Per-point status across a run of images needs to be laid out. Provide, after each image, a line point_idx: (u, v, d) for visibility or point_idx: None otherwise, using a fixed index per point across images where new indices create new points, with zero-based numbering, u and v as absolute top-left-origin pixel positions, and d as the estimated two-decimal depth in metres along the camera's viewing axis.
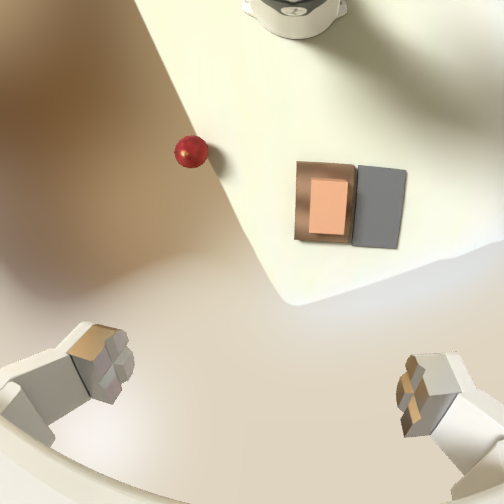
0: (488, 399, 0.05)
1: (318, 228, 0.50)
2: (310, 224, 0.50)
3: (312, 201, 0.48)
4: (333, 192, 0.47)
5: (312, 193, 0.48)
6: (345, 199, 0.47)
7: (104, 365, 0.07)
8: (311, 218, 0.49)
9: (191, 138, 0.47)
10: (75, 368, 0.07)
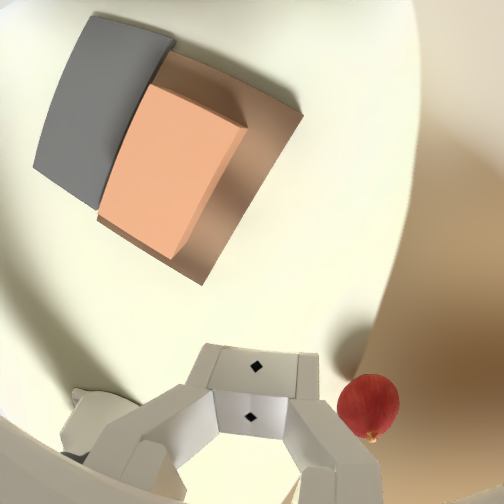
0: (332, 413, 0.05)
1: (208, 127, 0.15)
2: (224, 149, 0.15)
3: (189, 209, 0.17)
4: (133, 207, 0.17)
5: (181, 228, 0.18)
6: (112, 176, 0.17)
7: None
8: (212, 165, 0.16)
9: None
10: (214, 404, 0.06)
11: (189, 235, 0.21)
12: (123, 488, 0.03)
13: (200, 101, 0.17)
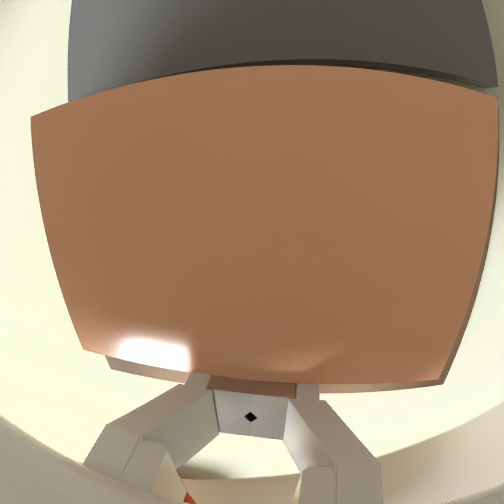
0: (332, 413, 0.05)
1: (430, 327, 0.05)
2: (384, 377, 0.06)
3: (203, 365, 0.06)
4: (99, 219, 0.05)
5: (149, 358, 0.06)
6: (136, 95, 0.04)
7: None
8: (338, 375, 0.06)
9: None
10: (214, 403, 0.06)
11: None
12: (123, 488, 0.03)
13: None
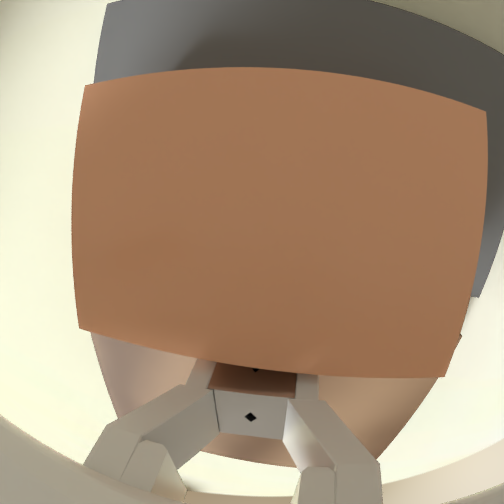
0: (331, 413, 0.05)
1: (437, 315, 0.05)
2: (392, 370, 0.06)
3: (210, 348, 0.06)
4: (134, 183, 0.06)
5: (152, 339, 0.06)
6: (195, 78, 0.05)
7: None
8: (348, 365, 0.06)
9: None
10: (214, 403, 0.06)
11: None
12: (123, 488, 0.03)
13: (368, 406, 0.10)
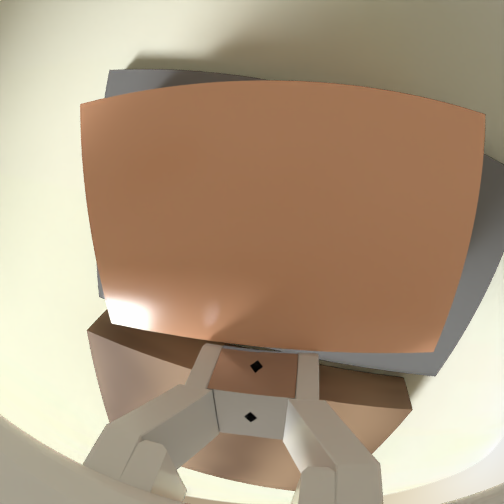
0: (332, 413, 0.05)
1: (426, 302, 0.06)
2: (386, 347, 0.07)
3: (229, 333, 0.07)
4: (146, 199, 0.06)
5: (179, 328, 0.07)
6: (191, 94, 0.05)
7: None
8: (348, 343, 0.07)
9: None
10: (214, 404, 0.06)
11: None
12: (123, 488, 0.03)
13: None
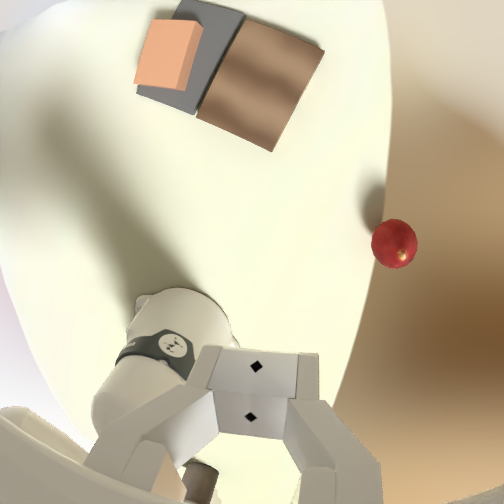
0: (332, 413, 0.05)
1: (182, 25, 0.27)
2: (191, 31, 0.27)
3: (181, 60, 0.29)
4: (152, 71, 0.30)
5: (178, 70, 0.29)
6: (140, 62, 0.29)
7: None
8: (187, 38, 0.27)
9: (383, 262, 0.33)
10: (214, 403, 0.06)
11: (185, 85, 0.32)
12: (123, 488, 0.03)
13: (267, 45, 0.28)
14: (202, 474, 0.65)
